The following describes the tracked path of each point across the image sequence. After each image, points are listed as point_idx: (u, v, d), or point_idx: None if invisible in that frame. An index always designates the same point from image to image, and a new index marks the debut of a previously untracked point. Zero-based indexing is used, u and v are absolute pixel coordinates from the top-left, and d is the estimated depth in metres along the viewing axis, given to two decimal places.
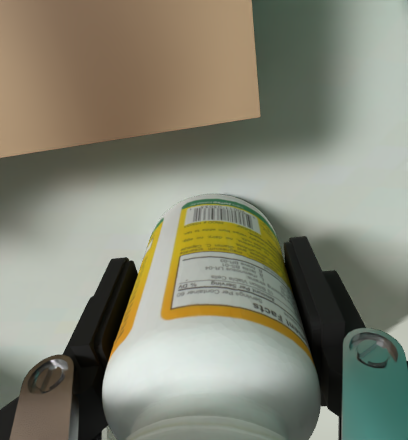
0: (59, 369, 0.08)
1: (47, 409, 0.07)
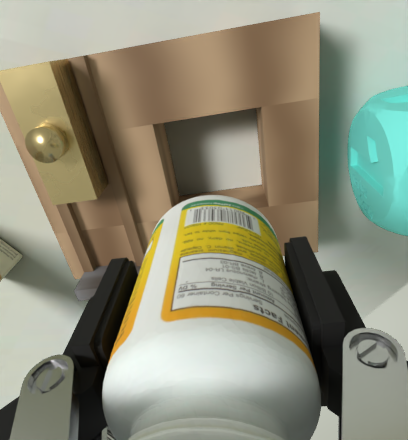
0: (59, 369, 0.08)
1: (47, 409, 0.07)
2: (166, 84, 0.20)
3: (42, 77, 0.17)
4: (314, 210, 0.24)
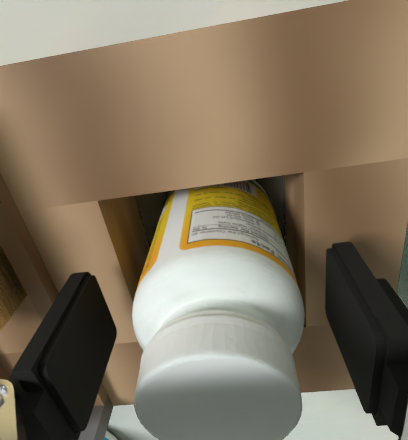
0: None
1: None
2: (117, 131, 0.10)
3: None
4: None
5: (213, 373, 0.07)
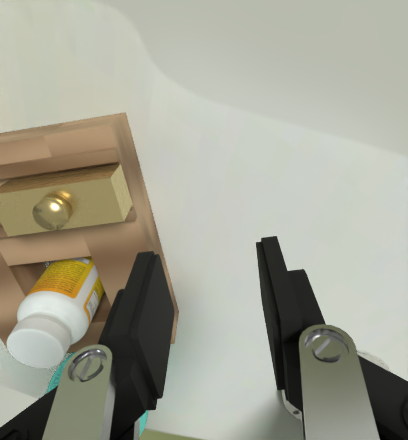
0: (98, 359, 0.08)
1: (83, 399, 0.07)
2: (122, 267, 0.26)
3: (111, 213, 0.21)
4: None
5: (55, 349, 0.23)
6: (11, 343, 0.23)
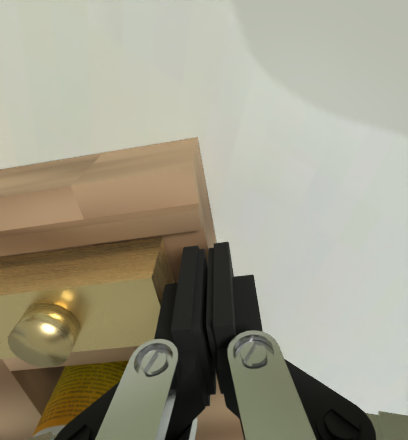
0: (164, 356, 0.08)
1: (144, 396, 0.07)
2: None
3: (149, 331, 0.12)
4: None
5: None
6: None
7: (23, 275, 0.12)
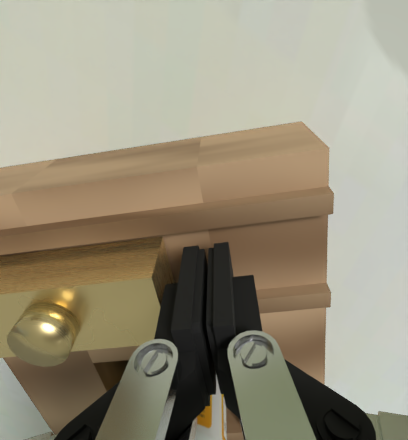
0: (164, 356, 0.08)
1: (144, 396, 0.07)
2: None
3: (149, 331, 0.12)
4: None
5: None
6: None
7: (23, 274, 0.12)
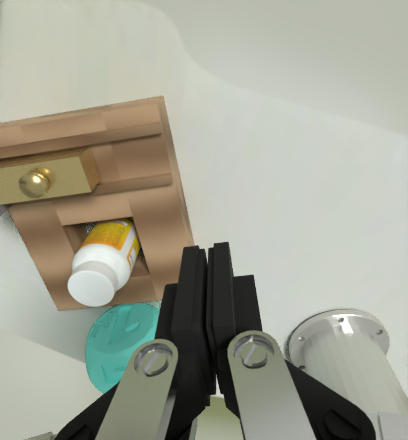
0: (164, 356, 0.08)
1: (144, 396, 0.07)
2: (158, 226, 0.31)
3: (81, 185, 0.26)
4: None
5: (107, 289, 0.28)
6: (72, 283, 0.28)
7: (25, 161, 0.27)
